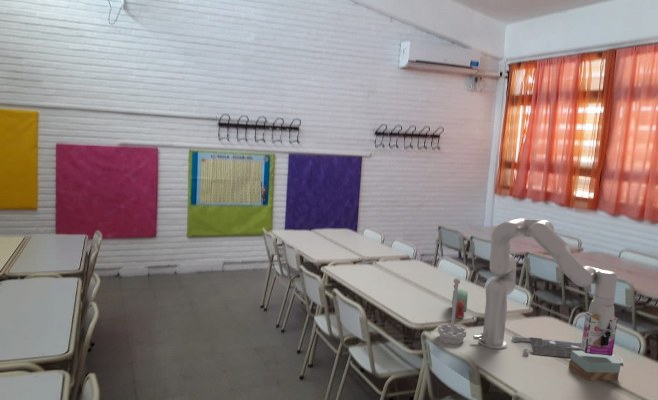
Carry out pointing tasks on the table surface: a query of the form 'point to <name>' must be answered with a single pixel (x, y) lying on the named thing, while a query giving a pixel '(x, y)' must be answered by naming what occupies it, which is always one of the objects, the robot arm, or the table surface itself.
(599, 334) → the candy bar box
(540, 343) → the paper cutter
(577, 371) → the tower base slab
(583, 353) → the tower top slab
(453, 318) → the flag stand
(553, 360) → the table surface
